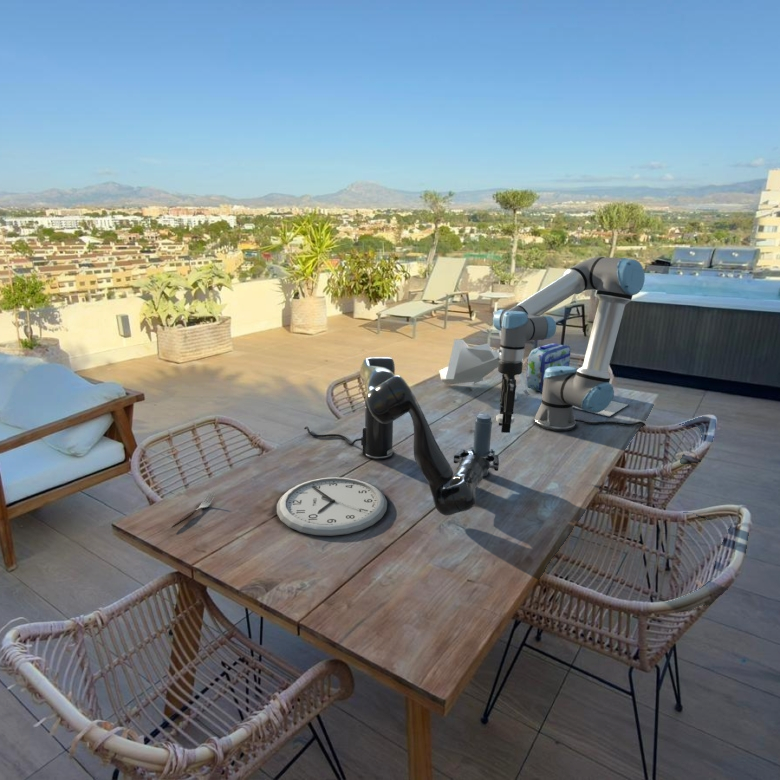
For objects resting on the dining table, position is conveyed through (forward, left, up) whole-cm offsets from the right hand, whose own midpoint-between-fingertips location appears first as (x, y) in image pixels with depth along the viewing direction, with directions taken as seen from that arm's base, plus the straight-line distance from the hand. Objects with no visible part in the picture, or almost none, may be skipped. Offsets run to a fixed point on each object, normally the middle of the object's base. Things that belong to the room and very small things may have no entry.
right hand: (504, 428), depth 173 cm
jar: (+8, +14, -10) cm, 19 cm away
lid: (0, 0, +4) cm, 4 cm away
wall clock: (+49, +40, -10) cm, 64 cm away
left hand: (+7, +12, -3) cm, 14 cm away
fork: (+84, +50, -10) cm, 98 cm away
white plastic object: (+4, -71, -10) cm, 72 cm away
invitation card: (-47, -59, -10) cm, 76 cm away
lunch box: (-28, -84, -10) cm, 89 cm away
